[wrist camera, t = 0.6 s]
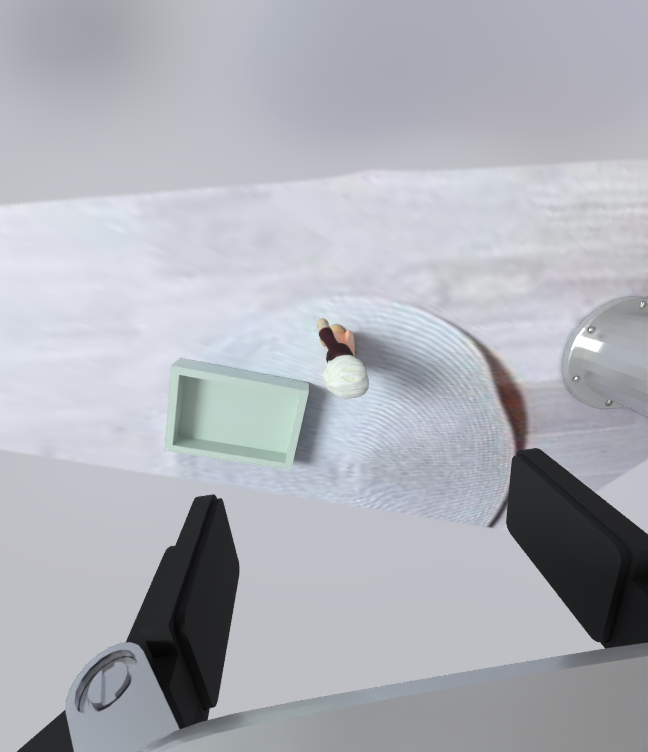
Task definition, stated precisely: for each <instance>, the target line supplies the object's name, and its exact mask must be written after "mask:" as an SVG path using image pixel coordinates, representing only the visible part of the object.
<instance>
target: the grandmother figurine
mask: <svg viewBox="0 0 648 752" xmlns="http://www.w3.org/2000/svg"><path fill="white" fill-rule="evenodd" d="M317 328H318V330H319V337H320V341H321V343H322V344H323V345H324V346H325V347H327V349H328V352H327V357H326V360H327V363H328V364H327V367H326V368H325V370H324V374H323V381H324V382H325V385H326V388H327V389H328V390H329V391H330V392H332V393H333V394H336V395H337V396H339V397H341V398H343V399H349V398H356V397H359V396H361V395H364V394H365V393H366V391H367V390H368V385H369V380H368V375H367V371H366V369H365V366H364V364H363V363H362V362H361V360H359V359H356V352H355V342H354V335H353V333H352V331H351V330H347V331H346V333H345V330H344V328H343V327H342V326H340V325H338V324H335V325H332V326H331V327H330V326H329V325H328V321H327V320H326V319H323V318H322V319H319V320H318V321H317Z"/></svg>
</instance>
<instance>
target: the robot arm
mask: <svg viewBox="0 0 648 752" xmlns="http://www.w3.org/2000/svg"><path fill="white" fill-rule="evenodd" d="M562 374H563V379H564V382H565V384H566V387H567V389H568V390H569V391H570V393H571V394H572V395H573V396H574V397H575V398H577V399H578V400H580V401H581V402H583V403H585V404H587V405H589V406H592V407H596V408H601V409H613V408H620V407H623V406H625V407H627V408H629V409H631V410H633V411H635V412H637V413H640V414H642V415H644V416H646V417H648V297H642V296H630V297H623V298H619V299H616V300H613V301H611V302H609V303H607V304H604V305H602V306H601V307H599V308H598V309H596V310H595V311H593V312H592V313H591V314H590V315H589V316H587V317H586V318H585V319H584V320H583V321H582V322H581V323H580V325H579V326H578V327H577V328H576V330H575V331H574V333H573V334H572V336H571V338H570V339H569V341H568V343H567V346H566V349H565V351H564V355H563V361H562ZM506 524H507V528H508V530H509V532H510V534H511V535H512V536H513V538H514V539H515V540H516V541H517V543H518V544H519V545H520V547H521V548H522V549H523V550H524V552H525V553H526V554H527V556H528V557H529V558H530V560H531V561H532V562H533V563H534V565H535V566H536V567H537V568H538V570H539V571H540V572H541V574H542V575H543V576H544V578H545V579H546V580H547V581H548V583H549V584H550V585H551V587H552V588H553V589H554V590H555V591H556V593H557V594H558V596H559V597H560V598H561V599H562V601H563V602H564V603H565V604H566V606H567V607H568V608H569V610H570V611H571V612H572V614H573V615H574V616H575V618H576V619H577V620H578V621H579V623H580V624H581V625H582V626H583V628H584V629H585V630H586V632H587V633H588V634H589V635H590V637H591V638H592V639H593V640H595V641H597V642H601V644H602V645H603V646H604V648H605V649H600V650H594V651H589V652H582V653H576V654H570V655H564V656H558V657H551V658H545V659H539V660H534V661H527V662H521V663H515V664H509V665H504V666H497V667H491V668H485V669H479V670H473V671H467V672H462V673H456V674H450V675H444V676H438V677H433V678H427V679H421V680H415V681H409V682H403V683H397V684H392V685H386V686H381V687H375V688H369V689H363V690H358V691H352V692H347V693H341V694H335V695H330V696H324V697H318V698H313V699H307V700H301V701H296V702H291V703H286V704H281V705H276V706H270V707H266V708H261V709H255V710H250V711H246V712H240V713H235V714H231V715H227V716H224V717H219V718H215V719H212V720H207V719H208V715H209V709H210V708H213V707H215V706H216V704H217V701H218V696H219V690H220V685H221V678H222V672H223V667H224V661H225V655H226V649H227V644H228V638H229V632H230V626H231V620H232V614H233V608H234V602H235V596H236V591H237V585H238V579H239V561H238V557H237V554H236V549H235V545H234V542H233V538H232V534H231V530H230V526H229V522H228V518H227V514H226V510H225V507H224V503H223V500H222V499H221V498H220V499H217V497H216V496H215V495H206V496H200V497H196V498H195V499H194V501H193V503H192V506H191V508H190V511H189V513H188V516H187V518H186V521H185V523H184V526H183V528H182V530H181V533H180V535H179V538H178V540H177V543H176V545H175V546H170V547H169V548H167V550H166V552H165V553H164V556H163V558H162V560H161V562H160V565H159V567H158V569H157V571H156V574H155V576H154V578H153V581H152V583H151V585H150V588H149V590H148V592H147V594H146V597H145V599H144V602H143V604H142V606H141V609H140V611H139V613H138V615H137V618H136V620H135V622H134V625H133V627H132V629H131V632H130V634H129V636H128V638H127V641H126V643H120V644H117V645H114V646H112V647H109V648H108V649H106V650H105V651H103V652H101V653H100V654H98V655H97V656H96V657H95V658H93V659H92V660H91V661H90V662H89V663H88V664H87V665H86V666H85V667H84V668H83V670H82V671H81V672H80V673H79V674H78V676H77V677H76V679H75V681H74V682H73V684H72V686H71V688H70V690H69V693H68V696H67V699H66V710H65V711H63V712H62V713H61V714H60V715H59V716H58V717H56V718H55V719H54V720H53V721H52V722H51V723H49V724H48V725H47V726H46V727H45V728H44V729H43V730H41V731H40V732H39V733H38V734H37V735H36V736H34V737H33V738H32V739H31V740H30V741H29V742H27V743H26V744H25V745H24V746H23V747H22V748H20V749H19V750H18V751H17V752H648V534H647V533H645V532H644V531H643V530H642V529H640V528H639V527H638V526H637V525H635V524H634V523H633V522H631V521H630V520H629V519H628V518H626V517H625V516H624V515H623V514H621V513H620V512H619V511H618V510H616V509H615V508H614V507H612V506H611V505H610V504H609V503H607V502H606V501H605V500H604V499H602V498H601V497H600V496H599V495H597V494H596V493H595V492H594V491H592V490H591V489H590V488H588V487H587V486H586V485H585V484H583V483H582V482H581V481H580V480H578V479H577V478H576V477H575V476H573V475H572V474H571V473H569V472H568V471H567V470H566V469H564V468H563V467H562V466H561V465H559V464H558V463H557V462H556V461H554V460H553V459H552V458H550V457H549V456H548V455H547V454H545V453H544V452H543V451H542V450H540V449H538V448H534V449H527V450H520V451H518V452H517V453H516V456H514V457H513V458H512V464H511V475H510V486H509V497H508V507H507V518H506Z"/></svg>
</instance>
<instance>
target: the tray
mask: <svg viewBox="0 0 648 752" xmlns="http://www.w3.org/2000/svg"><path fill="white" fill-rule="evenodd" d="M308 393H309V382H304V381H299V380H294V379H288V378H283V377H278V376H272V375H267V374H262V373H257V372H251V371H246V370H241V369H236V368H230V367H225V366H220V365H215V364H209V363H204V362H199V361H194V360H188V359H183V358H180V359H179V360H177V361H176V362H175V363H174V364H173V365H171V376H170V387H169V399H168V411H167V423H166V434H165V446H164V451H171V452H177V453H183V454H190V455H196V456H203V457H209V458H215V459H222V460H228V461H235V462H241V463H247V464H254V465H260V466H266V467H273V468H279V469H286V470H291V469H292V464H293V460H294V455H295V451H296V447H297V442H298V438H299V433H300V429H301V424H302V420H303V415H304V411H305V407H306V402H307V398H308Z"/></svg>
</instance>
